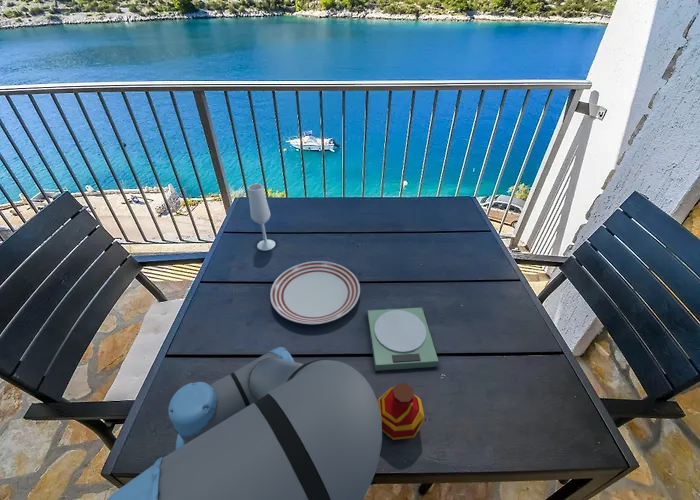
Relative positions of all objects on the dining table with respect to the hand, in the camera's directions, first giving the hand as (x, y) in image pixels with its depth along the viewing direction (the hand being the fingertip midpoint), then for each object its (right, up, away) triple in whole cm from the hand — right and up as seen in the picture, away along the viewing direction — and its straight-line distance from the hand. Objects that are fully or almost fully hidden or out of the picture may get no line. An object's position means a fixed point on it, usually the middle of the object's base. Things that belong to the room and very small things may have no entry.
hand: (369, 412), depth 71 cm
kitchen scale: (+10, +9, +25) cm, 28 cm away
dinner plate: (-15, +19, +38) cm, 44 cm away
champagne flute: (-35, +35, +58) cm, 76 cm away
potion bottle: (+7, -6, +6) cm, 11 cm away
